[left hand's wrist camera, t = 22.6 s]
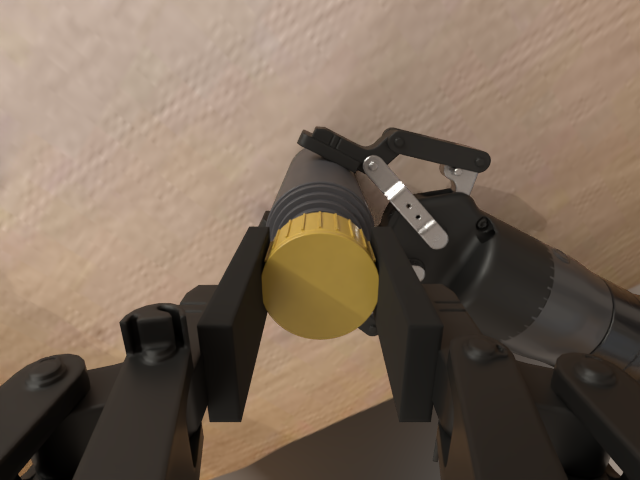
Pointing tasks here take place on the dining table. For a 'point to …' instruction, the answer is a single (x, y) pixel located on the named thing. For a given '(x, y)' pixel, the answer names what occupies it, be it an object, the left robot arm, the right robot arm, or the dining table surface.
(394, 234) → the left robot arm
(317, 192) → the bottle
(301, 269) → the cap
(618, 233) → the dining table surface
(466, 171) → the right robot arm
